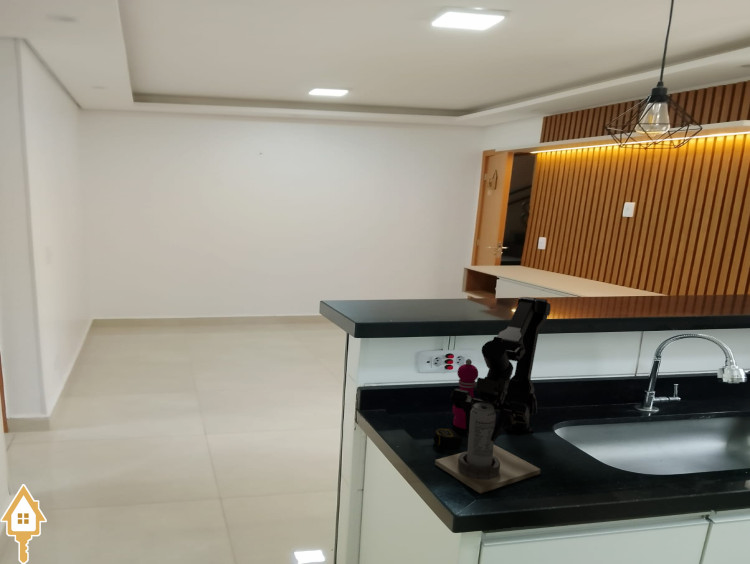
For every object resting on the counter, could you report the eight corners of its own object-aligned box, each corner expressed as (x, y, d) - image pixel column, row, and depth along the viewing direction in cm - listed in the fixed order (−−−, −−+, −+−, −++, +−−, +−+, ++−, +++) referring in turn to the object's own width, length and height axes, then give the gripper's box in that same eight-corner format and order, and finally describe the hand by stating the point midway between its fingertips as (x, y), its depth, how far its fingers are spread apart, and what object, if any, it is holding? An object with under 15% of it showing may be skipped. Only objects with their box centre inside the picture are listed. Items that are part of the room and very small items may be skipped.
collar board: (493, 448, 152) (494, 435, 151) (540, 473, 139) (541, 459, 138) (435, 464, 141) (436, 450, 140) (480, 493, 128) (481, 478, 127)
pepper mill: (480, 428, 165) (485, 362, 162) (457, 430, 163) (462, 363, 160) (469, 419, 172) (474, 355, 169) (447, 421, 170) (452, 356, 167)
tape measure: (462, 449, 150) (463, 436, 150) (439, 452, 148) (440, 438, 148) (451, 439, 157) (452, 426, 156) (429, 441, 155) (430, 428, 154)
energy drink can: (489, 460, 140) (493, 402, 137) (494, 472, 134) (499, 411, 131) (464, 459, 139) (468, 401, 137) (468, 471, 134) (473, 410, 131)
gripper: (455, 357, 141) (435, 413, 133) (530, 371, 132) (513, 432, 124) (464, 379, 149) (446, 433, 141) (536, 394, 140) (520, 453, 132)
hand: (479, 437), depth 134 cm, fingers closed on energy drink can, 6 cm apart
